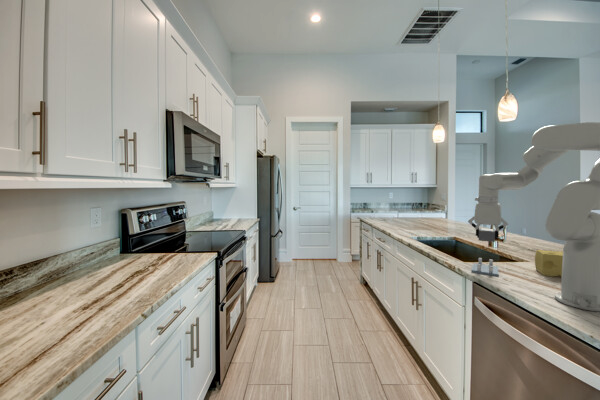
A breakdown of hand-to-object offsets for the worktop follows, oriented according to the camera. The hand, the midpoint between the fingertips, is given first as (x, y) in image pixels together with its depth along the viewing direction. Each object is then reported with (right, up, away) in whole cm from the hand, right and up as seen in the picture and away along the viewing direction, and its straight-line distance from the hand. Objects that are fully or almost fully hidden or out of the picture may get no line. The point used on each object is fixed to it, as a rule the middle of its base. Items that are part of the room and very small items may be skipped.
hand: (486, 237), depth 123 cm
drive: (0, -1, 0) cm, 1 cm away
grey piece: (0, -16, +1) cm, 16 cm away
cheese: (+27, -16, -5) cm, 32 cm away
